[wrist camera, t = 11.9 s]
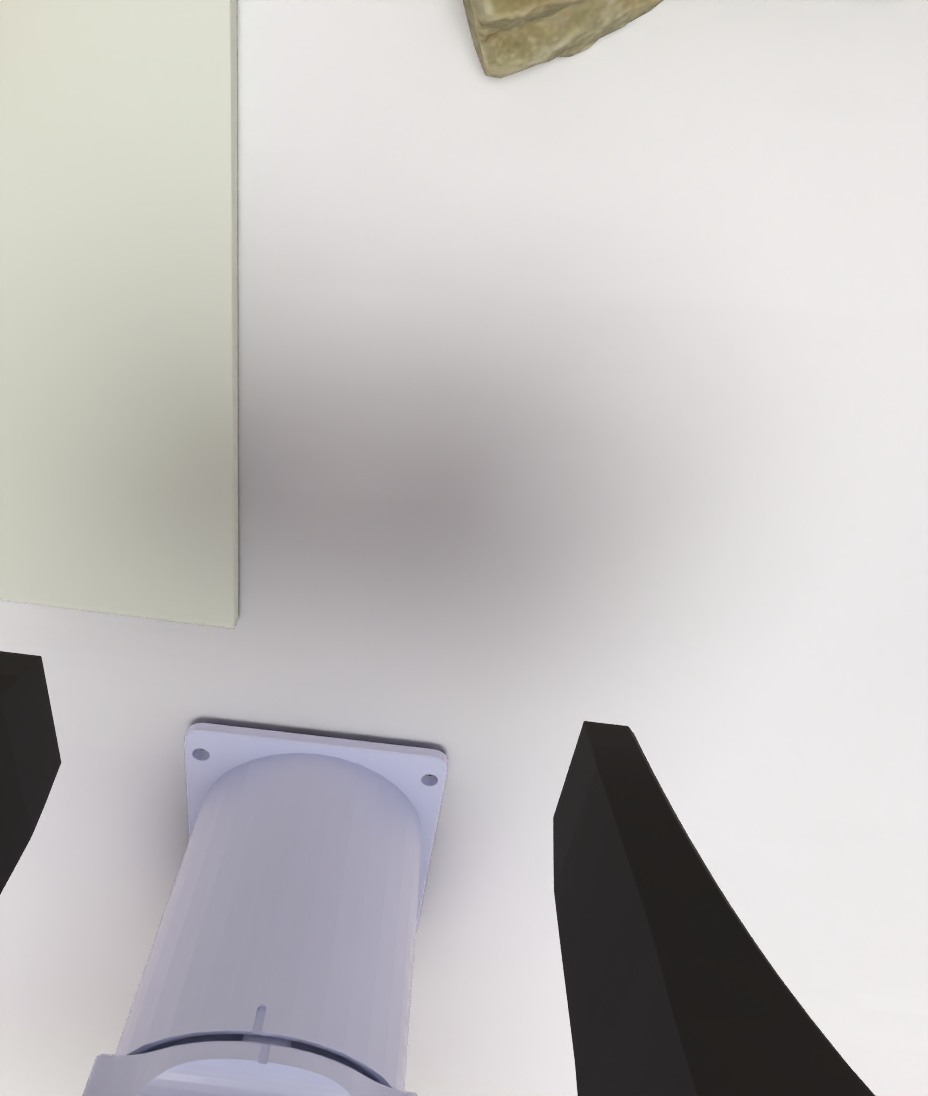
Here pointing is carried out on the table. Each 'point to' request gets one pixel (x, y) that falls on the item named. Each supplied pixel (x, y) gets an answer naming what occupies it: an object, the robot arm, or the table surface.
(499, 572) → the table surface
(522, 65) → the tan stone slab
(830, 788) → the table surface
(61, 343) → the sage mat
